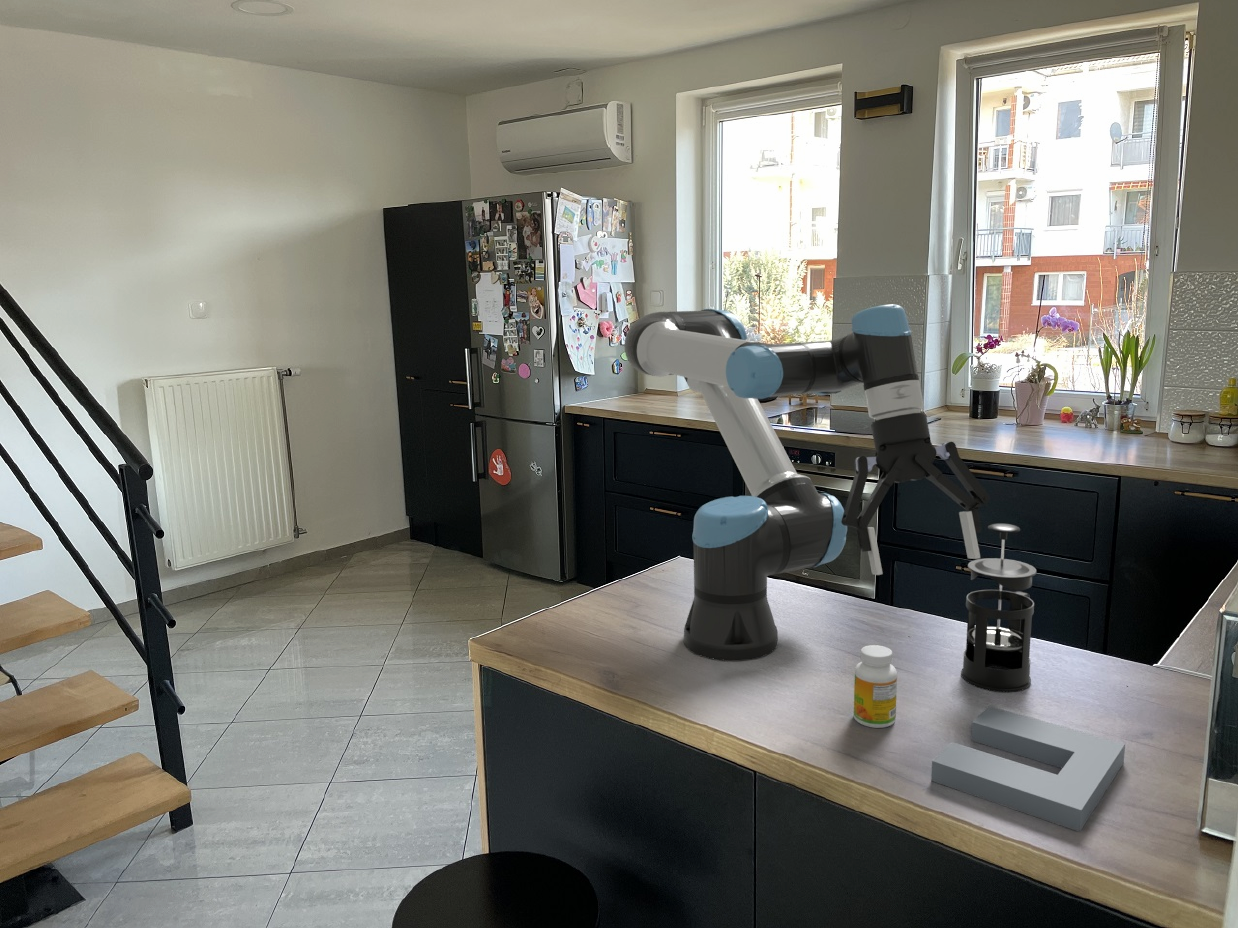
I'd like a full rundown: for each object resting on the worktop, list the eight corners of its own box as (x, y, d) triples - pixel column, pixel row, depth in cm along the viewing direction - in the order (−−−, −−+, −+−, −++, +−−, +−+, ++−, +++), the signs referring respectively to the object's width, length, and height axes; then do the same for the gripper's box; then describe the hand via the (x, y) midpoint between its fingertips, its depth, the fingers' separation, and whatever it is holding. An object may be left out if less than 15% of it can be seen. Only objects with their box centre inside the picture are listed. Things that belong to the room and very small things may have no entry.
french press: (1004, 699, 125) (1014, 539, 121) (945, 677, 133) (951, 525, 129) (1050, 676, 132) (1060, 523, 128) (991, 657, 140) (999, 511, 135)
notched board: (931, 780, 106) (932, 760, 105) (987, 723, 119) (988, 705, 118) (1079, 831, 95) (1081, 810, 95) (1123, 762, 109) (1125, 743, 108)
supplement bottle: (847, 711, 123) (849, 643, 122) (886, 708, 124) (888, 641, 122) (861, 730, 118) (863, 660, 116) (901, 727, 119) (904, 657, 117)
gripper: (815, 427, 124) (843, 582, 122) (995, 397, 124) (1026, 552, 122) (804, 433, 131) (830, 579, 130) (974, 405, 131) (1003, 550, 130)
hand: (925, 566), depth 126 cm, fingers open, 13 cm apart
